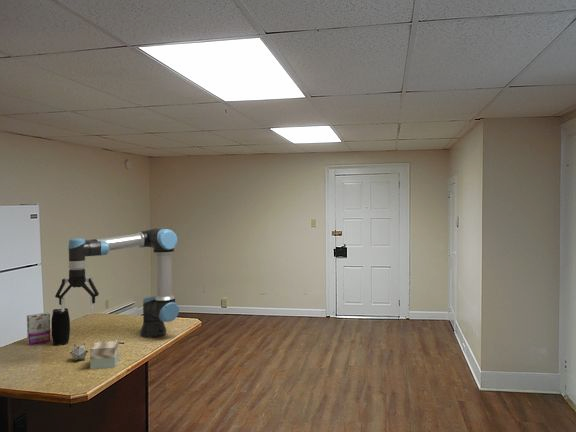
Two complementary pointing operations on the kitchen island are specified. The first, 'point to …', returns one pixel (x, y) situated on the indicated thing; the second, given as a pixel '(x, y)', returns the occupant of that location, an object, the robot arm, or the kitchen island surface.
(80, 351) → the game die
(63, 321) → the portable speaker
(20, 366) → the kitchen island surface
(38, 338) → the candy bar box
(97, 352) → the upper block
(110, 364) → the lower block
